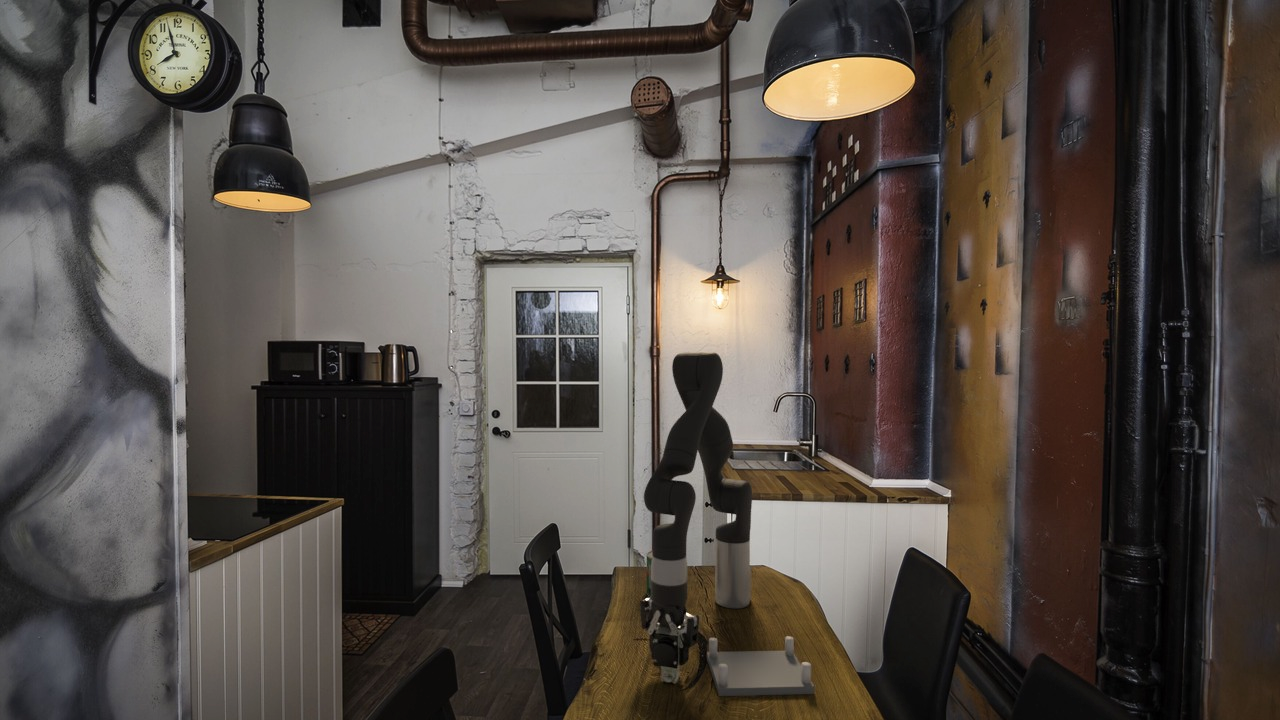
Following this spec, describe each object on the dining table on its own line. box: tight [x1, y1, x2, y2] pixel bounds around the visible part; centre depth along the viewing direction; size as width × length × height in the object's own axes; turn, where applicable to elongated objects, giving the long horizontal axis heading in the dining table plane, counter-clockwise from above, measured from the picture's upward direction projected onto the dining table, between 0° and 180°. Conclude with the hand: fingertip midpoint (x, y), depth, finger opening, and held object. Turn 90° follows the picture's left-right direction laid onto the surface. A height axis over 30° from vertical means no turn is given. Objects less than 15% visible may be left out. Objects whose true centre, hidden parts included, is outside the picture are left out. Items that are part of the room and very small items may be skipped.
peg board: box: [706, 635, 815, 697], centre depth 120 cm, size 19×14×5 cm
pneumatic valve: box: [650, 621, 686, 685], centre depth 118 cm, size 6×12×12 cm, turn 164°
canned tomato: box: [645, 550, 652, 598], centre depth 162 cm, size 8×8×11 cm
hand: (668, 657), depth 118 cm, fingers closed on pneumatic valve, 6 cm apart
